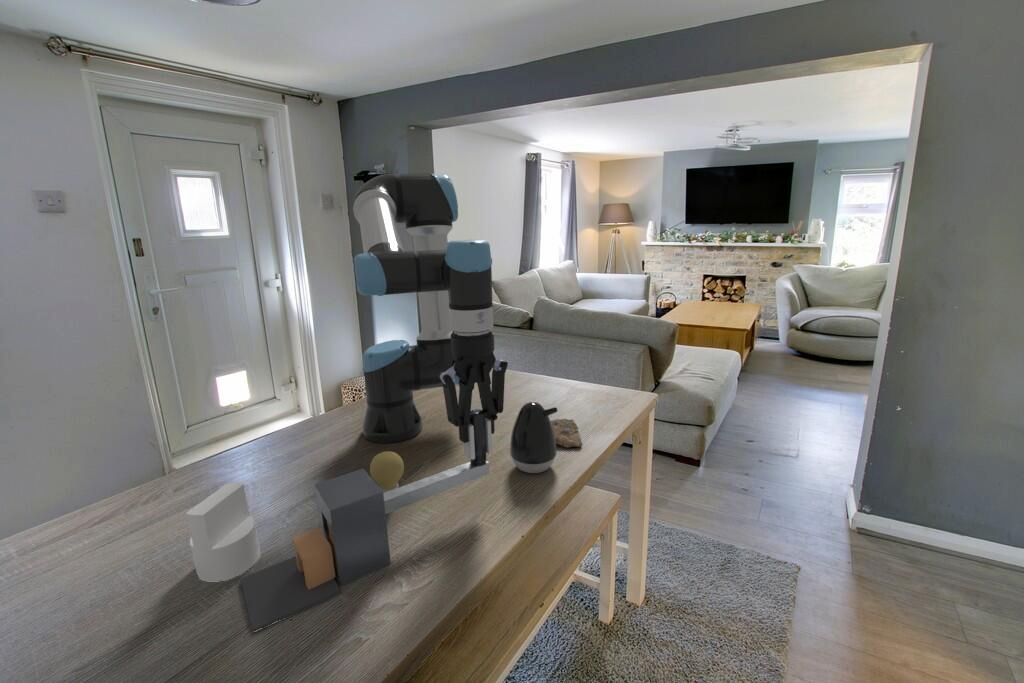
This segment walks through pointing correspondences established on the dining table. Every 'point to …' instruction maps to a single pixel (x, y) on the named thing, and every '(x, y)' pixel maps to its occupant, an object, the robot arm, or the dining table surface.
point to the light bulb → (387, 470)
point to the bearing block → (353, 524)
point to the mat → (281, 593)
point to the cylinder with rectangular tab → (223, 534)
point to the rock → (566, 433)
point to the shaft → (444, 473)
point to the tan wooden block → (314, 557)
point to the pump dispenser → (533, 439)
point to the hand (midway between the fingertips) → (478, 453)
